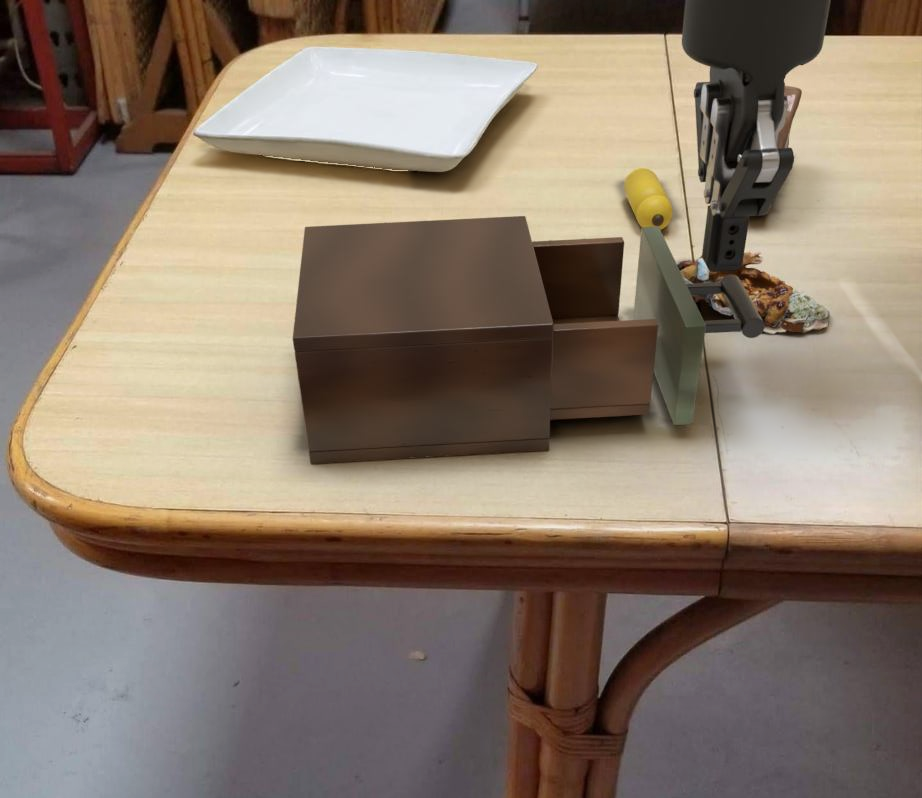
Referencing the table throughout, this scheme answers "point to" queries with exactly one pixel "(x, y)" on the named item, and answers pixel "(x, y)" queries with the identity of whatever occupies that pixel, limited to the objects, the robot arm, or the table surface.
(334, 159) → the square plate
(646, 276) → the drawer
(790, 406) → the table surface
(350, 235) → the cabinet
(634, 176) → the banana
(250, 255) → the table surface
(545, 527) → the table surface
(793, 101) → the brown snack box
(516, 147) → the table surface
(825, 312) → the brown sculpted figurine
